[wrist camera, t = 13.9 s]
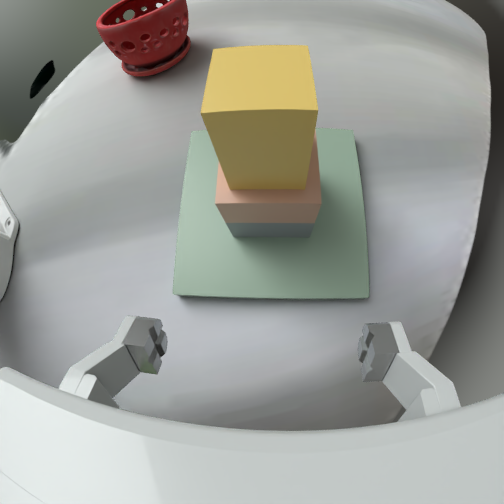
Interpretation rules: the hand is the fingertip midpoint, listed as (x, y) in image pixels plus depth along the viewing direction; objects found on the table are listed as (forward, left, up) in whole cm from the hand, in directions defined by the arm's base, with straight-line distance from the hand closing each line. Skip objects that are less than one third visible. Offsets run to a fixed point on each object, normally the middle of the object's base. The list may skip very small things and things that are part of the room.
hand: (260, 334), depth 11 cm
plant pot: (-40, +15, -16) cm, 46 cm away
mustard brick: (-8, +8, -6) cm, 13 cm away
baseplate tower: (-8, +8, -15) cm, 19 cm away
